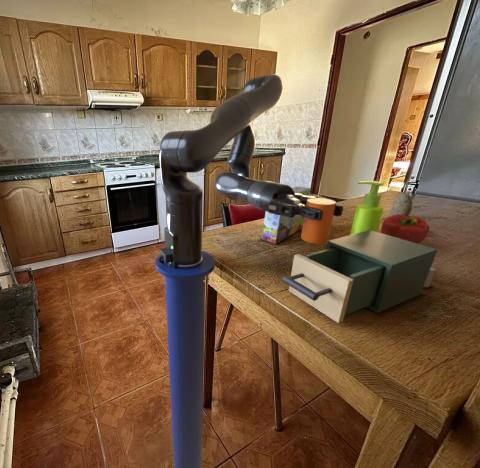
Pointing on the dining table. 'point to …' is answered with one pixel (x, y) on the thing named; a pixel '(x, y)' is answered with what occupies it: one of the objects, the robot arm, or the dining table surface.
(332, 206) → the spice tin
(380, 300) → the cabinet
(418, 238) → the vegetable
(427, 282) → the lighter
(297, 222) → the snack box
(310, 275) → the drawer
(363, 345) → the dining table surface
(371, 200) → the soap dispenser
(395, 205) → the decorative egg
